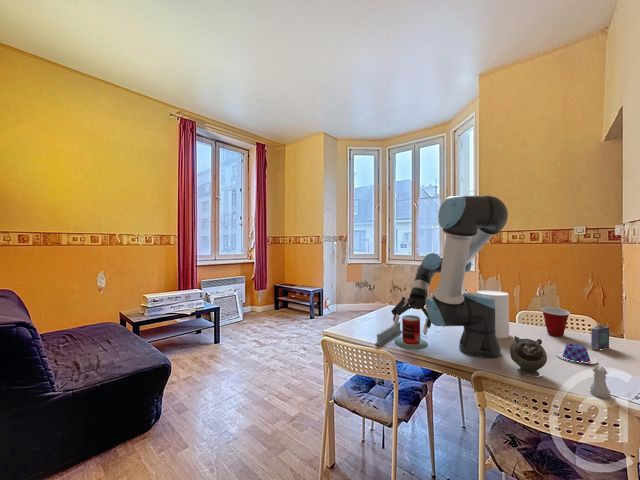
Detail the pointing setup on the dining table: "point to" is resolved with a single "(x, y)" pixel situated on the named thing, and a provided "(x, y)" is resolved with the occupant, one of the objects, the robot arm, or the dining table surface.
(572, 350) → the checkered hat
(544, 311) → the plastic cup
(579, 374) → the dining table surface
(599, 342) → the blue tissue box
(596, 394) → the rook chess piece
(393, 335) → the plastic divider
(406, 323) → the canned food
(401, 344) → the resting mat
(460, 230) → the robot arm
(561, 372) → the dining table surface
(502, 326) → the canister
